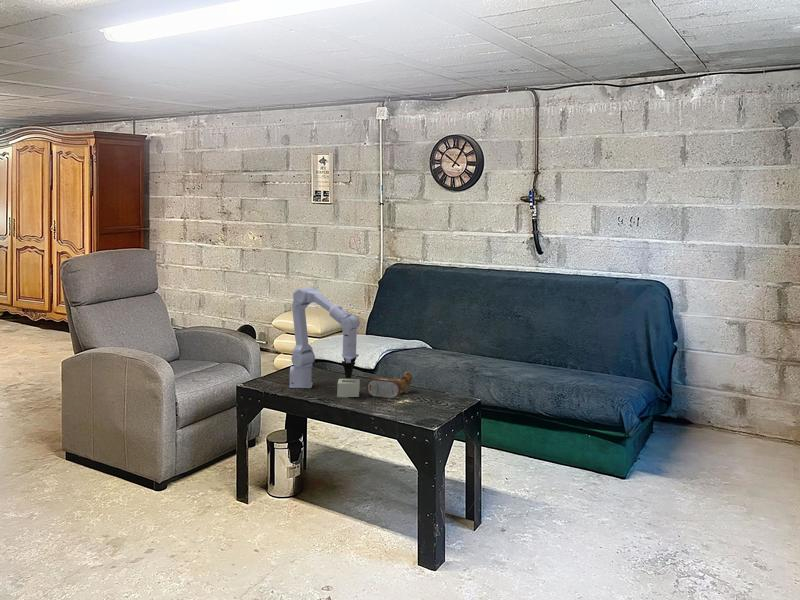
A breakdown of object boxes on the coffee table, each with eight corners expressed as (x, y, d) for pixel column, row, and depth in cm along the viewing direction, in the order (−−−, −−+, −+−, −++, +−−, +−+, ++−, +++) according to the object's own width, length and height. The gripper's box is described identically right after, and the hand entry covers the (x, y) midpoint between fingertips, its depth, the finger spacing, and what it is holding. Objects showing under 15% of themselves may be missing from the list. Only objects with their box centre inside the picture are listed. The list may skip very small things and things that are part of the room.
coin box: (337, 397, 296) (337, 383, 296) (338, 392, 304) (338, 378, 304) (358, 397, 297) (358, 383, 296) (359, 392, 304) (359, 379, 304)
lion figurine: (407, 389, 312) (407, 369, 311) (414, 392, 308) (415, 372, 307) (381, 394, 303) (381, 374, 302) (388, 397, 299) (389, 376, 298)
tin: (401, 398, 298) (402, 379, 297) (399, 400, 295) (400, 380, 294) (367, 394, 302) (368, 375, 301) (365, 396, 299) (366, 377, 298)
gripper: (358, 348, 290) (357, 380, 292) (359, 341, 305) (359, 371, 307) (341, 347, 290) (340, 379, 292) (343, 340, 305) (342, 371, 306)
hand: (348, 375), depth 299 cm, fingers open, 7 cm apart
